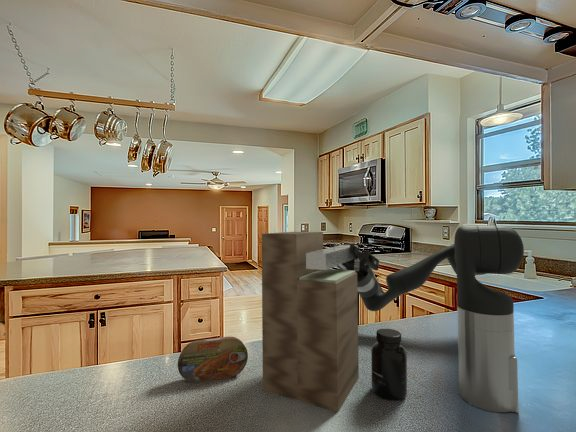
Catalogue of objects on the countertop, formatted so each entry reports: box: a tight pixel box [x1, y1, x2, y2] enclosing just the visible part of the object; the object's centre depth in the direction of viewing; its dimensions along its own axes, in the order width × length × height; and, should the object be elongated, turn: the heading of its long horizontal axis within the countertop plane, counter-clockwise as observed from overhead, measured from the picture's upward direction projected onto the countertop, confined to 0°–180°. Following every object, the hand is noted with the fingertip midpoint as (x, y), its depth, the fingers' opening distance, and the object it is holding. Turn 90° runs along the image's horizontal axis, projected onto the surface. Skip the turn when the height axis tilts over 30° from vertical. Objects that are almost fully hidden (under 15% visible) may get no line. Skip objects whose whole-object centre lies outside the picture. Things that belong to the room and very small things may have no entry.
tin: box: [177, 336, 249, 383], centre depth 70 cm, size 15×3×8 cm, turn 105°
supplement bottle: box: [370, 328, 408, 402], centre depth 63 cm, size 7×7×12 cm
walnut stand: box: [261, 231, 360, 413], centre depth 66 cm, size 16×14×32 cm
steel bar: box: [306, 244, 359, 270], centre depth 68 cm, size 4×22×3 cm, turn 152°
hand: (341, 247), depth 72 cm, fingers closed on steel bar, 4 cm apart
